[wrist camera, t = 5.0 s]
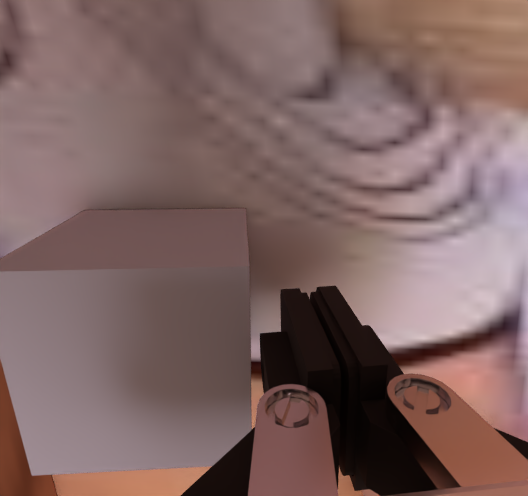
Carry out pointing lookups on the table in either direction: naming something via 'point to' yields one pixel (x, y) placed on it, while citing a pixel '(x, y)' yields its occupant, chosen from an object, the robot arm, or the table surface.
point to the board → (16, 454)
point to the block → (129, 340)
